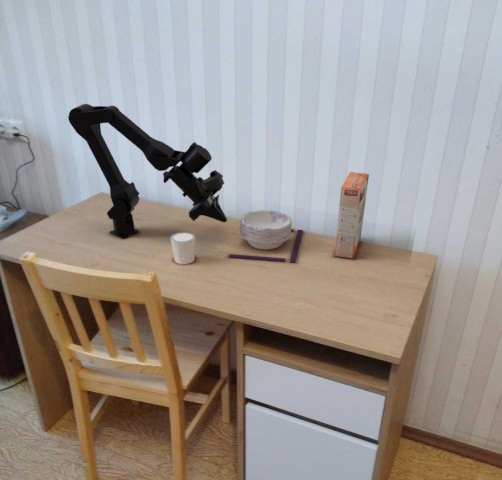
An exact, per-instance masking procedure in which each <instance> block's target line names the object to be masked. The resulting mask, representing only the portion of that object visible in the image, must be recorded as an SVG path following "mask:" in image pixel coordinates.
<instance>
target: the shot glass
mask: <svg viewBox="0 0 502 480" xmlns="http://www.w3.org/2000/svg"><path fill="white" fill-rule="evenodd" d="M170 242H171V248H172V249H171V250H172V253H173V254H172V255H173V258H174V262H175V263H176V264H179V265H189V264H191V263H193V262H194V261H195V258H196V236H195V234H194V233H191V232H178V233H174V234H172V235H171V236H170Z"/></svg>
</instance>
